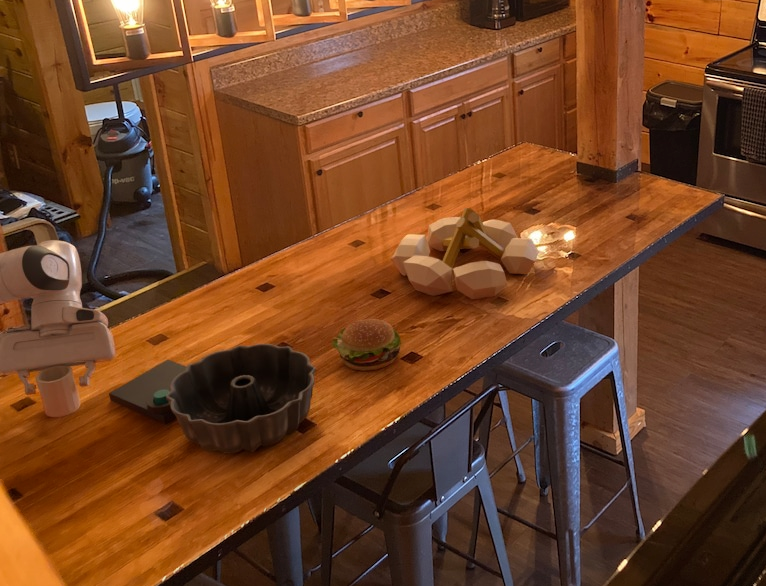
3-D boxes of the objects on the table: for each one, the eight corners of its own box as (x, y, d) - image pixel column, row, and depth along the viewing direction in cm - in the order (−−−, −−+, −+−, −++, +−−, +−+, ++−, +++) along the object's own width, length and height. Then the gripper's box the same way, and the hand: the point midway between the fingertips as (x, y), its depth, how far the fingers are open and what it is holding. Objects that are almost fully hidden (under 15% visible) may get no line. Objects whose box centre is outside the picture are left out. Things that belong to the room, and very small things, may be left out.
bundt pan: (347, 425, 182) (341, 381, 178) (212, 489, 165) (203, 443, 161) (281, 370, 199) (275, 328, 195) (153, 422, 182) (143, 379, 178)
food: (332, 346, 208) (328, 314, 204) (397, 336, 212) (394, 305, 208) (336, 380, 196) (332, 347, 193) (405, 369, 200) (402, 337, 196)
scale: (108, 401, 188) (105, 387, 187) (169, 366, 200) (166, 352, 198) (163, 425, 181) (160, 410, 180) (223, 388, 193) (220, 373, 192)
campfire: (478, 316, 220) (475, 250, 213) (368, 280, 236) (361, 218, 229) (559, 257, 248) (558, 197, 241) (455, 229, 263) (452, 172, 256)
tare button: (151, 401, 183) (150, 395, 183) (164, 394, 185) (162, 387, 185) (161, 406, 182) (160, 399, 181) (173, 398, 184) (172, 391, 184)
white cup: (38, 411, 185) (28, 377, 182) (67, 395, 190) (58, 361, 187) (58, 421, 182) (48, 386, 179) (87, 404, 187) (79, 370, 184)
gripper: (-8, 324, 183) (-9, 395, 178) (108, 310, 188) (110, 378, 184) (4, 333, 189) (3, 401, 184) (116, 318, 194) (118, 385, 190)
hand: (57, 390), depth 184 cm, fingers open, 8 cm apart
